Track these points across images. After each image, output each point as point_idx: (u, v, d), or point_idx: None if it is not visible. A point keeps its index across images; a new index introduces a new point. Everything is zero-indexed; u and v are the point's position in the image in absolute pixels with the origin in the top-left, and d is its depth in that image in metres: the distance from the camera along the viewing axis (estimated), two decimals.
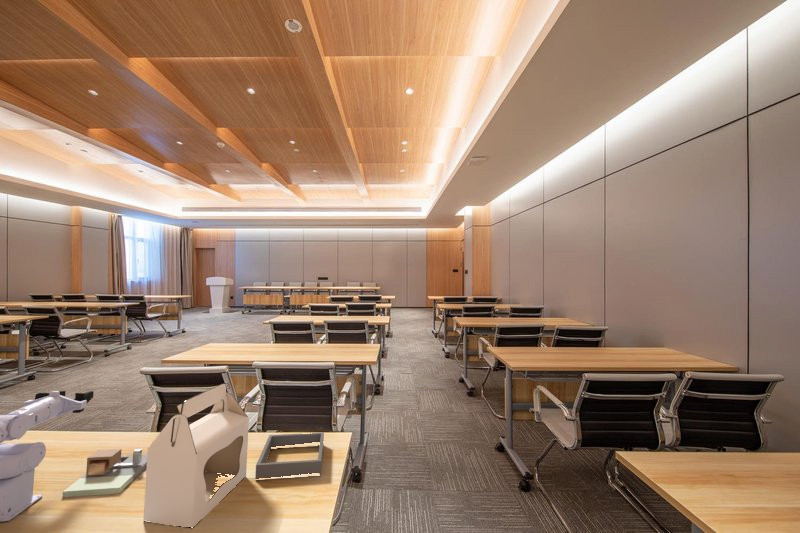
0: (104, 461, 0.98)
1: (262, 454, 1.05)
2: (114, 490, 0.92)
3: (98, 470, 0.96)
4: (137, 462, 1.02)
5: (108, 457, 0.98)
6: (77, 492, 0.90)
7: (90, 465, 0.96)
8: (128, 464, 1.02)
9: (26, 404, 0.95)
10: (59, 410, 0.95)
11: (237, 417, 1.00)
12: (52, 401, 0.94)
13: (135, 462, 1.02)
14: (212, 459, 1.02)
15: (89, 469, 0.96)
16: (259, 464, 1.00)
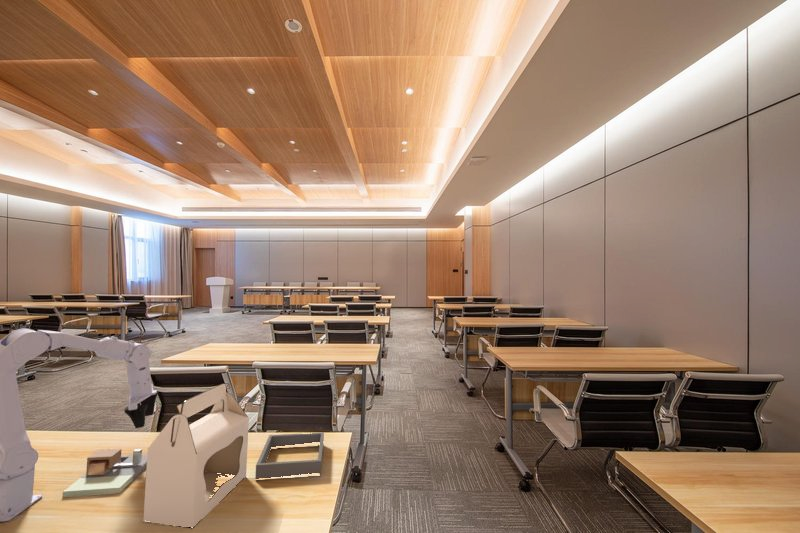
0: (104, 461, 0.98)
1: (262, 454, 1.05)
2: (114, 490, 0.92)
3: (98, 470, 0.96)
4: (137, 462, 1.02)
5: (108, 457, 0.98)
6: (77, 492, 0.90)
7: (90, 465, 0.96)
8: (128, 464, 1.02)
9: None
10: (134, 393, 1.06)
11: (237, 417, 1.00)
12: (146, 387, 1.08)
13: (135, 462, 1.02)
14: (212, 459, 1.02)
15: (89, 469, 0.96)
16: (259, 464, 1.00)
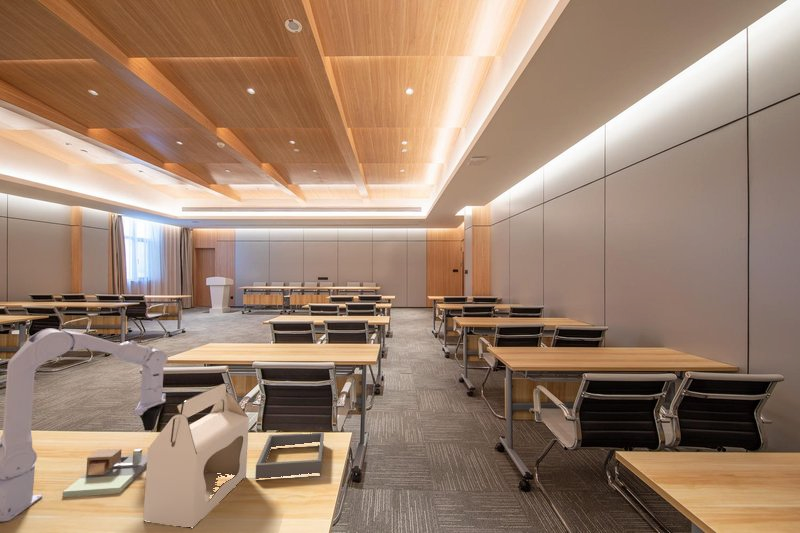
0: (104, 461, 0.98)
1: (262, 454, 1.05)
2: (114, 490, 0.92)
3: (98, 470, 0.96)
4: (137, 462, 1.02)
5: (108, 457, 0.98)
6: (77, 492, 0.90)
7: (90, 465, 0.96)
8: (128, 464, 1.02)
9: (162, 394, 1.16)
10: (143, 399, 1.07)
11: (237, 417, 1.00)
12: (156, 394, 1.08)
13: (135, 462, 1.02)
14: (212, 459, 1.02)
15: (89, 469, 0.96)
16: (259, 464, 1.00)
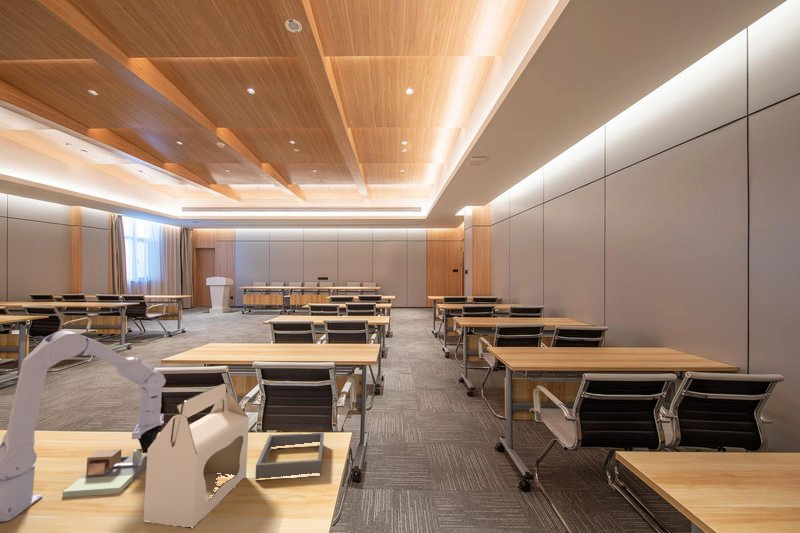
0: (104, 461, 0.98)
1: (262, 454, 1.05)
2: (114, 490, 0.92)
3: (98, 470, 0.96)
4: (137, 462, 1.02)
5: (108, 457, 0.98)
6: (77, 492, 0.90)
7: (90, 465, 0.96)
8: (128, 464, 1.02)
9: (160, 415, 1.15)
10: (141, 421, 1.06)
11: (237, 417, 1.00)
12: (154, 416, 1.08)
13: (135, 462, 1.02)
14: (212, 459, 1.02)
15: (89, 469, 0.96)
16: (259, 464, 1.00)
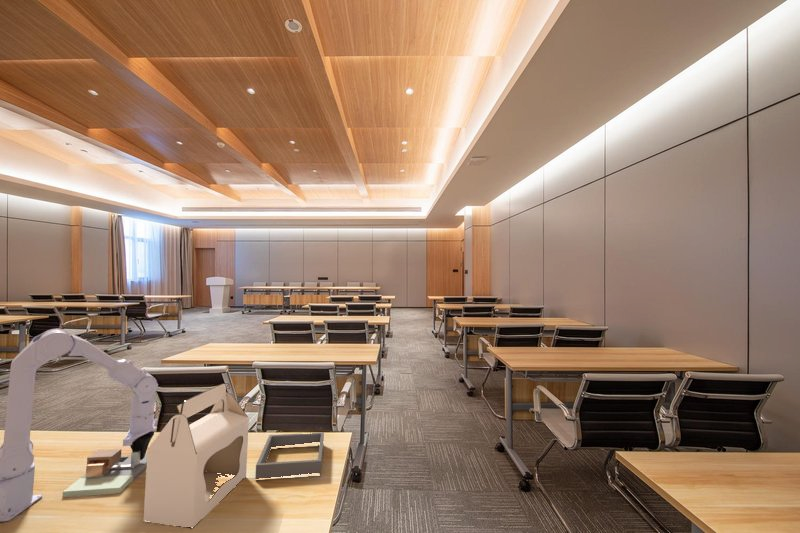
0: (102, 463, 0.97)
1: (262, 454, 1.05)
2: (114, 490, 0.92)
3: (96, 472, 0.96)
4: (135, 464, 1.01)
5: (108, 457, 0.98)
6: (77, 492, 0.90)
7: (88, 467, 0.95)
8: (126, 466, 1.01)
9: (153, 420, 1.11)
10: (133, 427, 1.02)
11: (237, 417, 1.00)
12: (147, 422, 1.03)
13: (133, 464, 1.01)
14: (212, 459, 1.02)
15: (87, 471, 0.95)
16: (259, 464, 1.00)
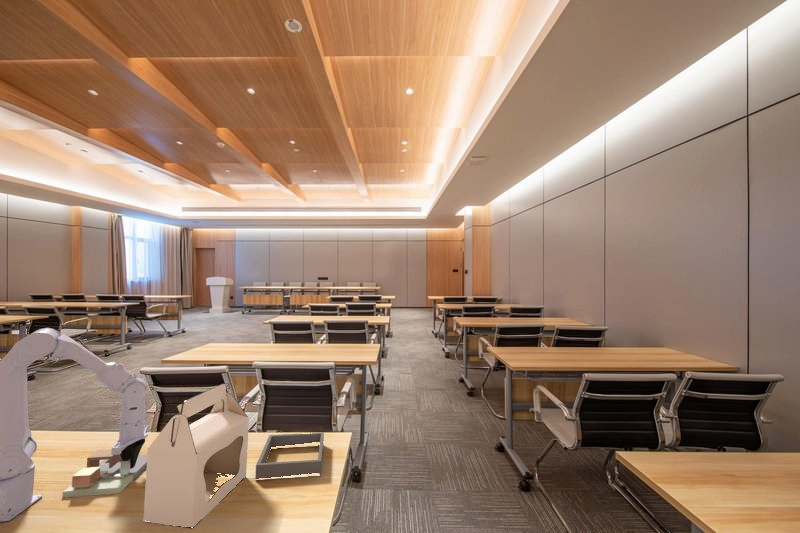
0: (89, 472, 0.92)
1: (262, 454, 1.05)
2: (114, 490, 0.92)
3: (83, 482, 0.91)
4: (125, 473, 0.97)
5: (108, 457, 0.98)
6: (77, 492, 0.90)
7: (74, 477, 0.90)
8: (115, 475, 0.96)
9: (145, 426, 1.06)
10: (122, 435, 0.97)
11: (237, 417, 1.00)
12: (137, 429, 0.98)
13: (123, 473, 0.96)
14: (212, 459, 1.02)
15: (73, 481, 0.90)
16: (259, 464, 1.00)
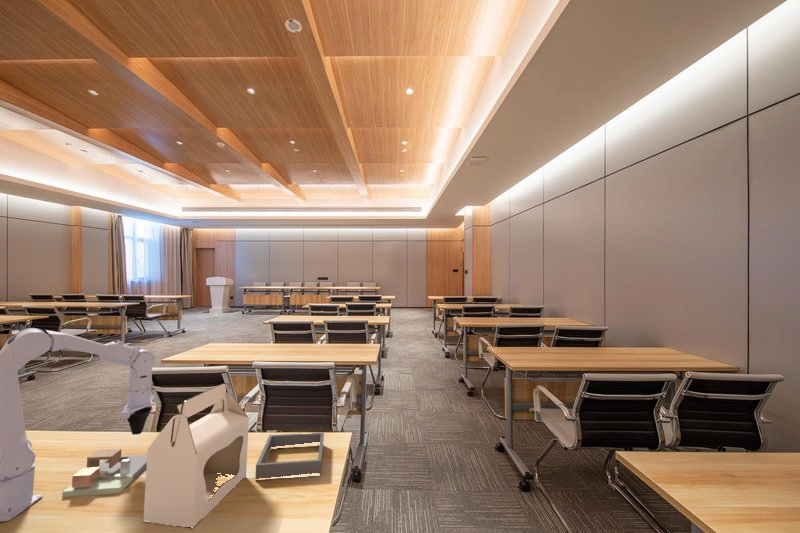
0: (89, 472, 0.92)
1: (262, 454, 1.05)
2: (114, 490, 0.92)
3: (83, 482, 0.91)
4: (125, 473, 0.97)
5: (108, 457, 0.98)
6: (77, 492, 0.90)
7: (74, 477, 0.90)
8: (115, 475, 0.96)
9: (151, 396, 1.12)
10: (130, 402, 1.03)
11: (237, 417, 1.00)
12: (144, 397, 1.04)
13: (123, 473, 0.96)
14: (212, 459, 1.02)
15: (73, 481, 0.90)
16: (259, 464, 1.00)
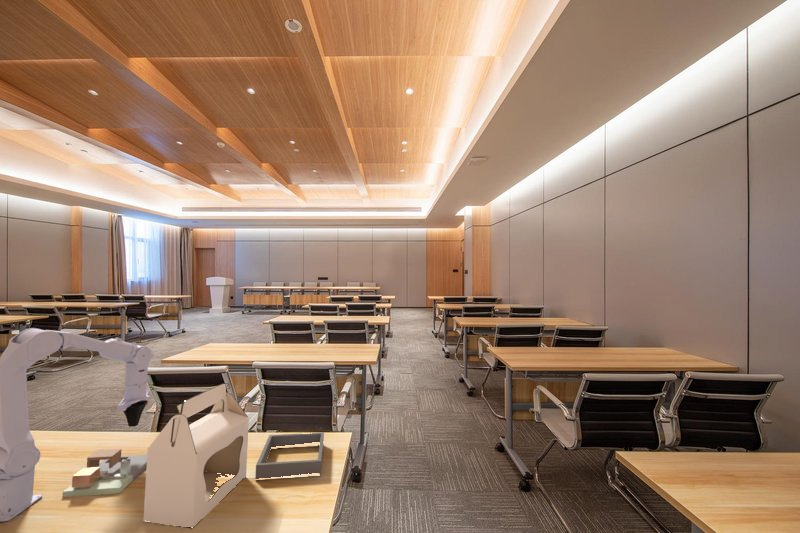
0: (89, 472, 0.92)
1: (262, 454, 1.05)
2: (114, 490, 0.92)
3: (83, 482, 0.91)
4: (125, 473, 0.97)
5: (108, 457, 0.98)
6: (77, 492, 0.90)
7: (74, 477, 0.90)
8: (115, 475, 0.96)
9: (147, 390, 1.17)
10: (127, 395, 1.07)
11: (237, 417, 1.00)
12: (140, 390, 1.09)
13: (123, 473, 0.96)
14: (212, 459, 1.02)
15: (73, 481, 0.90)
16: (259, 464, 1.00)
